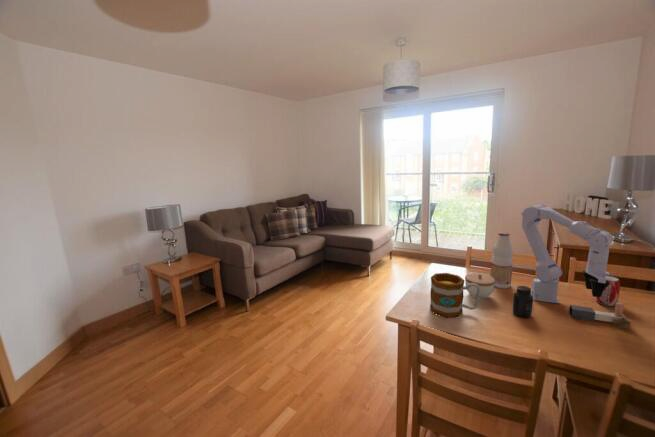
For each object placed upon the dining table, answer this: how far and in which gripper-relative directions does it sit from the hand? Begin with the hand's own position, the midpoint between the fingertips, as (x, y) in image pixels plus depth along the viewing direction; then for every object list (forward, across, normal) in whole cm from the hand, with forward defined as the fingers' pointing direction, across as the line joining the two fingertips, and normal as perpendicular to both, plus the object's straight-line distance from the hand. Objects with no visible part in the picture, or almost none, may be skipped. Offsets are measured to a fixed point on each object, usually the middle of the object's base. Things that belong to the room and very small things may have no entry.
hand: (592, 292), depth 118 cm
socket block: (+9, -5, -7) cm, 13 cm away
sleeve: (+9, -5, +4) cm, 11 cm away
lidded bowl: (+10, +1, +41) cm, 42 cm away
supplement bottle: (+10, -11, +25) cm, 29 cm away
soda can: (+10, +13, -9) cm, 18 cm away
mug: (+10, -19, +51) cm, 55 cm away
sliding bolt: (+9, -5, -3) cm, 10 cm away
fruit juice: (+10, +18, +31) cm, 37 cm away
